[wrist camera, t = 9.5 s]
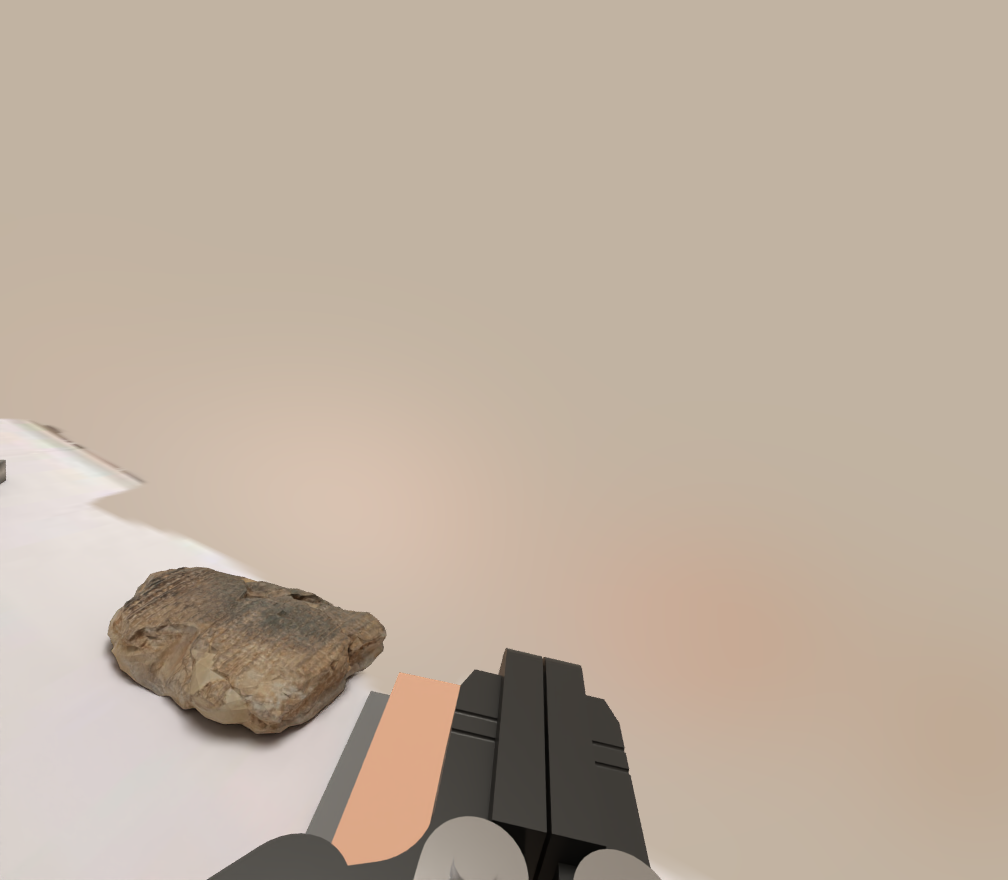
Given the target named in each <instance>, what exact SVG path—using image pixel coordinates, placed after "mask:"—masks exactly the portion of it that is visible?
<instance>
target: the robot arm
mask: <svg viewBox="0 0 1008 880" xmlns="http://www.w3.org/2000/svg"><path fill="white" fill-rule="evenodd" d="M628 772H629V767H628V762H627V757H626V753H624V743H623V739H622V734H621V729H620V725H619V722H618V720H617V719H616V717H615V716H614V714H613V713H612V711H611V710H610V708H609V706H608V705H607V704H606V702H605V701H604V699H600V698H596V697H591V696H587V695H586V694H585V687H584V681H583V673H582V668H581V666H580V665H576V664H572V663H568V662H564V661H560V660H555V659H551V658H546V657H544V658H543V659H542V657H541V656H537V655H533V654H529V653H525V652H520V651H515V650H512V649H507V648H506V649H505V652H504V655H503V659H502V663H501V667H500V671H499V675H496V674H492V673H488V672H484V671H479V670H474V671H473V672H472V673H471V674H470V676H469V677H468V678H467V679H466V680H465V681H464V682H463V683H462V685H461V686H460V690H459V694H458V698H457V702H456V707H455V711H454V715H453V720H452V724H451V728H450V733H449V737H448V741H447V745H446V750H445V754H444V759H443V764H442V768H441V773H440V778H439V783H438V787H437V792H436V797H435V802H434V806H433V811H432V816H431V820H430V824H429V827H428V829H427V830H426V831H425V833H424V834H423V836H422V837H421V838H420V839H419V840H418V841H417V842H416V843H415V844H414V845H413V846H412V847H410V848H409V849H408V850H406V851H405V852H403V853H401V854H399V855H398V856H395V857H392V858H390V859H387V860H382V861H377V862H370V863H363V864H355V865H347V863H346V861H345V859H344V857H343V855H342V854H341V853H340V851H339V850H338V849H337V848H336V847H335V846H334V845H333V844H331V843H330V842H329V841H327V840H325V839H323V838H321V837H318V836H315V835H312V834H302V833H300V834H289V835H285V836H280V837H278V838H275V839H272V840H270V841H268V842H266V843H264V844H263V845H261V846H259V847H257V848H256V849H254V850H253V851H251V852H250V853H248V854H246V855H245V856H243V857H242V858H240V859H239V860H237V861H235V862H234V863H232V864H231V865H229V866H228V867H226V868H224V869H223V870H221V871H220V872H218V873H217V874H215V875H213V876H212V877H210V878H209V879H207V880H661V879H660V878H659V876H658V875H657V874H656V873H655V872H654V871H653V870H652V869H651V867H650V864H649V860H648V855H647V851H646V846H645V841H644V837H643V832H642V828H641V823H640V818H639V813H638V809H637V804H636V799H635V795H634V790H633V785H632V781H631V776H630V775H629V773H628Z"/></svg>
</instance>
